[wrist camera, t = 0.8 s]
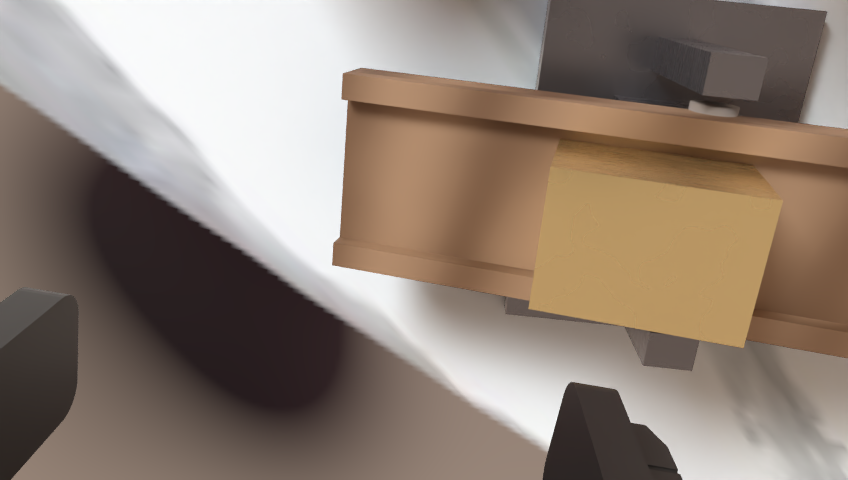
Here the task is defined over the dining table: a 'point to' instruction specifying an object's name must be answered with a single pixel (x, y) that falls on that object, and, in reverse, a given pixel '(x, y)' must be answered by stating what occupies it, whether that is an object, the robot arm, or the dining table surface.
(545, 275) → the block
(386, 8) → the dining table surface
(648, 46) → the pivot stand
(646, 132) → the balance beam
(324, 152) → the dining table surface
